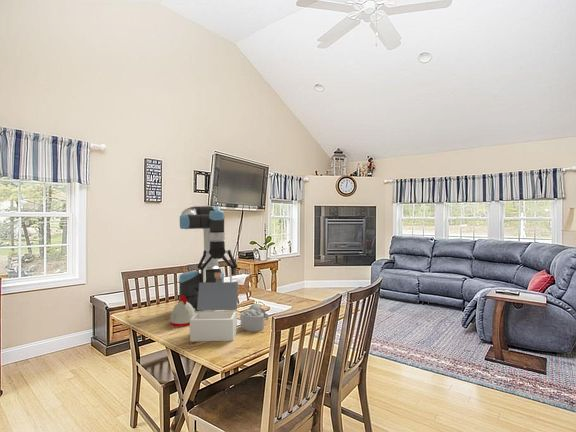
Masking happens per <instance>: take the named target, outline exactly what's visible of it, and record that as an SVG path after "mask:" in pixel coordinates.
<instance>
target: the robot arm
mask: <svg viewBox="0 0 576 432" xmlns="http://www.w3.org/2000/svg"><path fill="white" fill-rule="evenodd" d="M225 218H226V217H225V212H224V211H223V210H221V209H220V207H219V206H213V205H208V206H207V205H206V206H205V205H203V206H196V205H194V206H191V207H187V208H185V209H184V210H182V212H181V214H180V216H179V228H180V229H181V230H192V229H194V230H199V229H200V230H201V229H202V230H203V253H202V257H201V258H200V260H199V263H198V264H197V269H199V270H200V271H198V270H190V271H185V272H182V273H181V274H180V275H179V276H178V277H179V279H178V284H179V285H178V287H179V289H178V290H179V294H178V295H179V298H180V297H181V295H183V296H184V297H185V296H186V299H187V302H188V303H190V304H191V305H192V307H193V308H195V310H196V312H197V311H201V310H197V304H198V292H199V283H214V282H216V278H215V277H214V274H215V273H221V274H222V282H224V271H222V268H221V267H220V266H219V260H221V259H222V260H223V261H224V262H225V263H226V264H227V266H228V267H229V282H233V276H234V275H235V269H236V268H238V264H237V261H236V260H235V258H234V256H233V255H232V250H231V249H228V250H226V246H225V245H226V244H225V243H226V242H225V241H224V240H225V239H226V238H225V234H226V233H225ZM225 254H227V255H228V257H229V259H230V261H231V262H230V261H229V259H228V258H227V257H226V256H225ZM179 302H180V299H178V301H177V304H178V303H179Z"/></svg>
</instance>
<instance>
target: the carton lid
mask: <svg viewBox="0 0 576 432" xmlns="http://www.w3.org/2000/svg"><path fill="white" fill-rule="evenodd" d="M214 277H215V278H216V282H214V283H199V292H198V304H197V310H200V311H237V310H238V293H239V292H238V291H239V289H238V288H239V286H238V285H239V282H237V281H232V282H230V281H225V282H224V281H223V282H222V274H221V273H215V274H214Z"/></svg>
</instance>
